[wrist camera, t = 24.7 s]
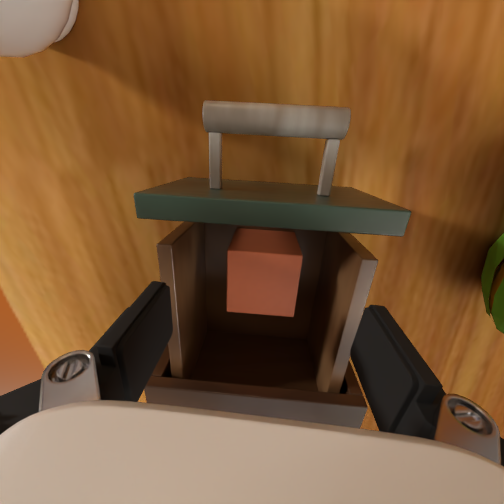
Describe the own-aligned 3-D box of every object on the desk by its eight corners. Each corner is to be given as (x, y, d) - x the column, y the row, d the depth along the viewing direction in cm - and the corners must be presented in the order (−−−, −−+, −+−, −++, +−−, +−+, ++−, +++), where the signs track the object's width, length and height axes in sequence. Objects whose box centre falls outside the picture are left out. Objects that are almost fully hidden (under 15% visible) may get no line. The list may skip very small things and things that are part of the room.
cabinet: (190, 297, 23) (143, 386, 14) (328, 308, 23) (368, 407, 14) (197, 401, 29) (166, 509, 20) (305, 412, 29) (322, 527, 20)
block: (236, 227, 18) (226, 249, 14) (294, 231, 18) (303, 255, 14) (234, 278, 20) (226, 312, 15) (288, 282, 19) (293, 317, 15)
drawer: (184, 113, 16) (116, 80, 9) (366, 122, 16) (450, 96, 8) (195, 327, 23) (163, 404, 16) (319, 338, 23) (343, 422, 16)
